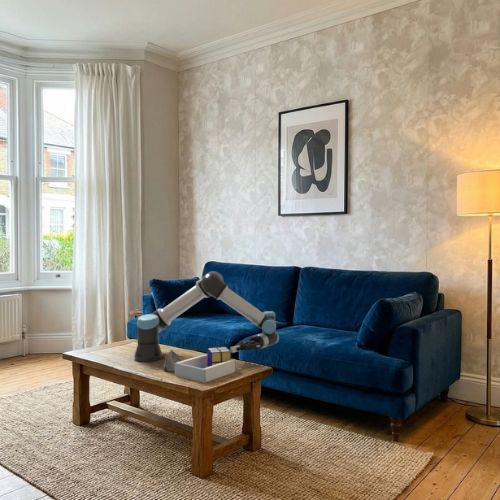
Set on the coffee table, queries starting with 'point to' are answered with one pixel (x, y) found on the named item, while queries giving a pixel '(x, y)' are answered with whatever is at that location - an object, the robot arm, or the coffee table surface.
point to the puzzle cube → (217, 355)
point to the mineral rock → (170, 361)
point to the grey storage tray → (195, 371)
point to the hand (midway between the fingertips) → (231, 350)
